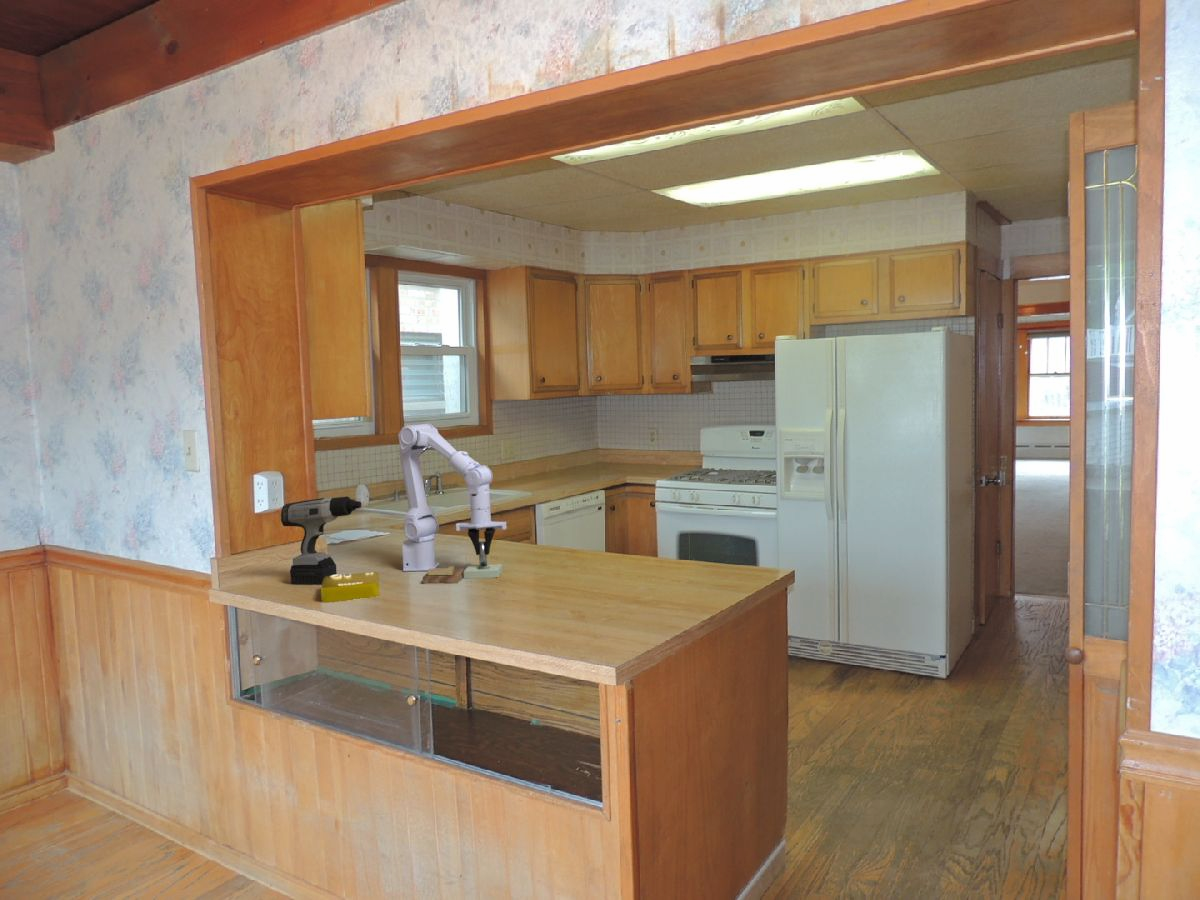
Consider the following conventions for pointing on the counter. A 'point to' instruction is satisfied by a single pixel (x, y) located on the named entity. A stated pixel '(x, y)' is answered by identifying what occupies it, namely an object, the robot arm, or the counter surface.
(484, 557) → the silver cylindrical rod
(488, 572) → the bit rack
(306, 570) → the cordless drill
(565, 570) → the counter surface
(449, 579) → the socket block
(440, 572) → the bar
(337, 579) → the element tile
